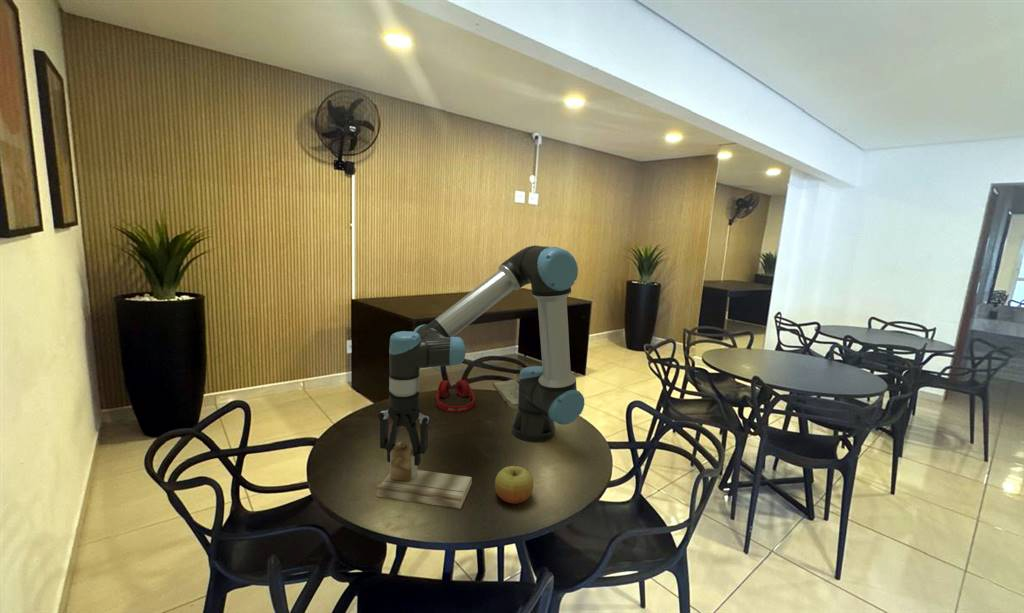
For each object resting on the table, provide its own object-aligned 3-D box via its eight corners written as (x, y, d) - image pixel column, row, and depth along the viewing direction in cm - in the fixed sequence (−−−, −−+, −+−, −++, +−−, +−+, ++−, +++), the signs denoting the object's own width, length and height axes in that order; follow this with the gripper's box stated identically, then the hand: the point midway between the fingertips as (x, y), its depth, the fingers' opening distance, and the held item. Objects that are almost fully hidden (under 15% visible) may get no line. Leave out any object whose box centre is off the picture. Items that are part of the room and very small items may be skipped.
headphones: (434, 392, 181) (437, 419, 163) (435, 377, 179) (438, 402, 161) (469, 391, 185) (476, 417, 166) (470, 376, 183) (477, 400, 164)
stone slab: (515, 406, 165) (491, 378, 192) (515, 417, 166) (490, 387, 193) (545, 403, 169) (517, 376, 197) (544, 413, 170) (516, 384, 197)
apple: (502, 513, 106) (504, 483, 105) (488, 491, 115) (490, 463, 114) (538, 504, 110) (540, 475, 109) (522, 484, 119) (523, 457, 118)
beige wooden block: (416, 471, 118) (416, 440, 117) (405, 486, 111) (405, 454, 109) (398, 469, 119) (398, 438, 117) (386, 484, 112) (386, 451, 110)
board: (471, 483, 118) (471, 474, 117) (460, 508, 107) (460, 498, 107) (394, 473, 121) (394, 464, 121) (376, 496, 110) (376, 486, 110)
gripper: (442, 389, 114) (440, 471, 118) (378, 383, 117) (378, 462, 121) (433, 400, 107) (431, 486, 111) (364, 393, 110) (365, 477, 114)
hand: (403, 474), depth 116 cm, fingers closed on beige wooden block, 5 cm apart
